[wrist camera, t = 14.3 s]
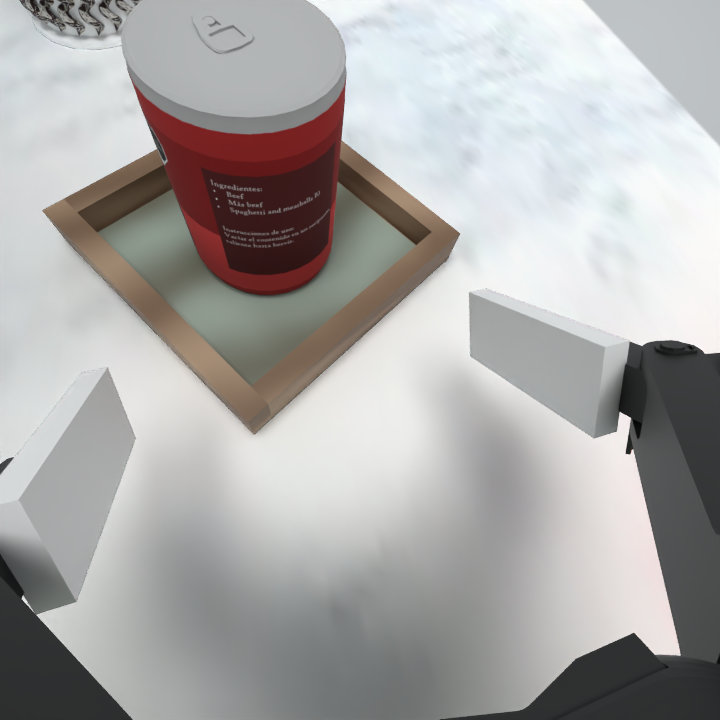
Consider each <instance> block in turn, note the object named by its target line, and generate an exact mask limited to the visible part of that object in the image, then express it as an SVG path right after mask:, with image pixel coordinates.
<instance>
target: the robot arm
mask: <svg viewBox="0 0 720 720" xmlns="http://www.w3.org/2000/svg"><path fill="white" fill-rule="evenodd" d="M469 312H470V356H471V357H472V358H474V359H475V360H477V361H478V362H480V363H481V364H483V365H484V366H486V367H487V368H489V369H490V370H492V371H493V372H495V373H496V374H498V375H499V376H501V377H502V378H504V379H505V380H507V381H508V382H510V383H511V384H513V385H514V386H516V387H517V388H519V389H520V390H522V391H523V392H525V393H526V394H528V395H529V396H531V397H532V398H534V399H535V400H537V401H538V402H540V403H541V404H543V405H545V406H546V407H548V408H549V409H551V410H552V411H554V412H555V413H557V414H558V415H560V416H561V417H563V418H564V419H566V420H567V421H569V422H570V423H572V424H573V425H575V426H576V427H578V428H579V429H581V430H582V431H584V432H585V433H587V434H588V435H590V436H591V437H593V438H597V437H600V436H603V435H607V434H610V433H613V432H616V431H617V426H618V419H619V412H621V413H623V414H625V415H627V416H629V417H631V423H630V429H629V435H628V442H627V448H626V454H630V453H631V450H632V449H634V454H635V458H636V462H637V467H638V471H639V475H640V479H641V484H642V488H643V492H644V497H645V501H646V505H647V510H648V514H649V518H650V522H651V527H652V531H653V535H654V540H655V544H656V548H657V553H658V557H659V561H660V566H661V570H662V574H663V578H664V583H665V587H666V591H667V596H668V600H669V604H670V609H671V613H672V617H673V621H674V626H675V630H676V634H677V639H678V643H679V648H680V654H681V656H677V655H654V654H653V653H652V652H651V651H650V649H649V648H648V647H647V646H646V645H645V644H644V643H643V642H642V641H641V640H640V639H639V638H638V637H637V635H636V634H635V633H633V634H630V635H628V636H626V637H624V638H622V639H619V640H617V641H615V642H613V643H610V644H608V645H606V646H604V647H601V648H599V649H597V650H595V651H592V652H590V653H588V654H586V655H583V656H581V657H579V658H577V659H575V660H574V661H573V662H572V663H571V664H570V665H569V666H568V667H567V668H566V669H565V670H564V671H563V672H562V673H561V674H560V675H559V676H558V677H557V678H556V679H555V680H554V681H553V682H552V683H551V684H550V685H549V686H548V687H547V688H546V689H545V690H544V691H543V692H542V693H541V694H540V695H539V696H538V697H537V698H536V699H535V700H534V701H533V702H532V703H531V704H530V705H529V706H528V707H527V708H525V709H523V710H520V711H515V712H505V713H496V714H486V715H477V716H467V717H458V718H448V719H440V720H720V353H713V354H704V352H703V351H702V350H700V349H699V348H698V347H696V346H694V345H690V344H686V343H682V342H679V341H672V340H670V341H654V342H649V343H646V344H645V345H643V346H640V345H637V344H635V343H632V342H630V341H629V340H627V339H624V338H621V337H618V336H616V335H613V334H610V333H607V332H605V331H602V330H599V329H596V328H594V327H591V326H588V325H585V324H583V323H580V322H577V321H574V320H572V319H569V318H566V317H563V316H561V315H558V314H555V313H552V312H550V311H547V310H544V309H541V308H539V307H536V306H533V305H530V304H528V303H525V302H522V301H519V300H517V299H514V298H511V297H508V296H506V295H503V294H500V293H497V292H495V291H492V290H489V289H482V290H477V291H472V292H469ZM135 439H136V437H135V435H134V432H133V430H132V427H131V425H130V422H129V420H128V417H127V415H126V412H125V410H124V407H123V405H122V402H121V400H120V397H119V395H118V392H117V390H116V387H115V385H114V382H113V380H112V377H111V375H110V372H109V370H108V367H107V368H102V369H97V370H93V371H88V372H83V373H81V374H80V376H79V377H78V378H77V379H76V381H75V382H74V383H73V384H72V386H71V387H70V388H69V389H68V391H67V392H66V393H65V394H64V396H63V397H62V398H61V399H60V401H59V402H58V403H57V404H56V406H55V407H54V408H53V410H52V411H51V412H50V413H49V415H48V416H47V417H46V418H45V420H44V421H43V422H42V423H41V425H40V426H39V427H38V428H37V430H36V431H35V432H34V433H33V435H32V436H31V437H30V438H29V440H28V441H27V442H26V443H25V445H24V446H23V447H22V448H21V450H20V451H19V452H18V453H17V455H16V456H15V457H13V458H8V459H7V460H5V461H4V462H2V463H1V464H0V720H133V719H132V718H131V717H130V716H129V715H128V714H127V713H126V712H125V711H124V710H123V709H122V708H121V707H120V705H119V704H118V703H117V702H116V701H115V700H114V699H113V698H112V697H111V696H110V695H109V694H108V692H107V691H106V690H105V689H104V688H103V687H102V686H101V685H100V684H99V683H98V682H97V681H96V679H95V678H94V677H93V676H92V675H91V674H90V673H89V672H88V671H87V670H86V669H85V668H84V666H83V665H82V664H81V663H80V662H79V661H78V660H77V659H76V658H75V657H74V656H73V655H72V653H71V652H70V651H69V650H68V649H67V648H66V647H65V646H64V645H63V644H62V643H61V642H60V640H59V639H58V638H57V637H56V636H55V635H54V634H53V633H52V632H51V631H50V630H49V629H48V627H47V626H46V625H45V624H44V623H43V622H42V621H41V620H40V619H39V618H38V617H37V616H36V615H35V614H39V613H42V612H45V611H48V610H52V609H55V608H58V607H61V606H64V605H67V604H71V603H74V602H77V599H78V596H79V593H80V591H81V588H82V585H83V582H84V580H85V577H86V574H87V571H88V569H89V566H90V563H91V560H92V558H93V555H94V552H95V549H96V547H97V544H98V541H99V538H100V536H101V533H102V530H103V527H104V525H105V522H106V519H107V516H108V514H109V511H110V508H111V505H112V503H113V500H114V497H115V494H116V492H117V489H118V486H119V483H120V481H121V478H122V475H123V472H124V470H125V467H126V464H127V461H128V459H129V456H130V453H131V450H132V448H133V445H134V442H135ZM23 595H24V597H25V598H26V600H27V601H28V603H29V605H30V606H31V608H32V609H33V611H34V612H35V613H34V612H33V611H32V610H31V609H30V608H29V607H28V606H27V605H26V604H25V603H24V602H23V600H22V599H21V598H22V596H23Z"/></svg>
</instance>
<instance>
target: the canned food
mask: <svg viewBox="0 0 720 720" xmlns="http://www.w3.org/2000/svg"><path fill="white" fill-rule="evenodd" d="M121 43H122V49H123V54H124V57H125V59H126V63H127V70H128V73H129V75H130V78H131V80H132V83H133V86H134V88H135V91H136V94H137V97H138V100H139V103H140V106H141V108H142V111H143V113H144V116H145V119H146V121H147V124H148V126H149V129H150V131H151V134H152V137H153V139H154V142H155V144H156V147H157V149H158V152H159V155H160V157H161V160H162V162H163V165H164V168H165V170H166V173H167V175H168V178H169V180H170V183H171V186H172V188H173V191H174V193H175V196H176V198H177V201H178V204H179V206H180V209H181V211H182V214H183V216H184V219H185V222H186V224H187V227H188V229H189V232H190V235H191V237H192V240H193V242H194V245H195V247H196V249H197V252H198V254H199V256H200V258H201V259H202V261H203V262H204V263H205V264H206V266H207V267H208V268H209V269H210V270H211V271H212V272H213V273H214V274H215V275H216V276H217V277H219V278H220V279H221V280H222V281H223V282H225V283H227V284H228V285H230V286H232V287H234V288H236V289H239V290H241V291H244V292H247V293H253V294H258V295H276V294H282V293H287V292H290V291H293V290H296V289H298V288H300V287H302V286H303V285H305V284H307V283H308V282H310V281H311V280H312V279H313V278H314V277H315V276H316V275H317V274H318V273H319V271H320V270H321V268H322V267H323V265H324V264H325V262H326V261H327V258H328V256H329V254H330V251H331V247H332V240H333V228H334V217H335V206H336V194H337V183H338V172H339V160H340V149H341V138H342V126H343V115H344V103H345V85H346V66H345V63H346V53H345V46H344V42H343V40H342V38H341V35H340V33H339V31H338V29H337V28H336V27H335V25H334V24H333V23H332V21H331V20H330V19H329V18H328V17H327V16H326V15H325V14H324V13H323V12H321V11H320V10H319V9H318V8H317V7H315V6H314V5H312V4H311V3H309V2H308V1H306V0H142V1H140V2H139V3H138V4H137V5H136V6H135V7H134V8H133V10H132V11H131V12H130V13H129V15H128V17H127V19H126V21H125V22H124V24H123V29H122V35H121Z"/></svg>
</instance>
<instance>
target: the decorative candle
mask: <svg viewBox="0 0 720 720" xmlns="http://www.w3.org/2000/svg"><path fill="white" fill-rule="evenodd" d="M140 1H142V0H20V2H21V3H22V5H23V6H24V7H25V8H26V9H28V10H29V12H30V15H31V17H32V20H33V22H34V25H35V27H36V29H37V31H39V32H40V33H41V34H43V35H44V36H45V37H47V38H48V39H49V40H51V41H52V42H55V43H58V44H61V45H64V46H68V47H71V48H77V49H94V50H99V49H104V48H110V47H116V46H121V45H122V43H121V35H122V29H123V24H124V22H125V21H126V19H127V17H128V15H129V13H130V12H131V11H132V10H133V8H134V7H135V6H136V5H137V4H138V3H139V2H140Z"/></svg>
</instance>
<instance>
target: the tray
mask: <svg viewBox="0 0 720 720" xmlns="http://www.w3.org/2000/svg"><path fill="white" fill-rule="evenodd" d="M42 211H43V212H44V213H45V214H46V216H47V217H48V218H49V219H50V221H51V222H52V223H53V225H54V226H55V227H56V228H57V230H58V231H59V232H60V233H61V235H62V236H63V237H64V238H65V240H66V241H67V242H68V243H69V244H70V245H71V246H72V247H73V248H74V249H75V250H76V251H77V252H78V253H79V254H80V255H81V256H82V257H83V258H84V259H85V260H86V261H87V262H88V264H89V265H90V266H91V267H92V268H93V269H94V270H95V271H96V272H97V273H98V274H99V275H100V276H101V277H102V278H103V279H104V280H105V281H106V282H107V283H108V284H109V285H110V286H111V287H112V288H113V289H114V290H115V291H116V292H117V293H118V295H119V296H120V297H121V298H122V299H123V300H124V301H125V302H126V303H127V304H128V305H129V306H130V307H131V308H132V309H133V310H134V311H135V312H136V313H137V314H138V315H139V316H140V317H141V318H142V319H143V320H144V321H145V322H146V323H147V324H148V326H149V327H150V328H151V329H152V330H153V331H154V332H155V333H156V334H157V335H158V336H159V337H160V338H161V339H162V340H163V341H164V342H165V343H166V344H167V345H168V346H169V347H170V348H171V349H172V350H173V351H174V352H175V353H176V354H177V355H178V357H179V358H180V359H181V360H182V361H183V362H184V363H185V364H186V365H187V366H188V367H189V368H190V369H191V370H192V371H193V372H194V373H195V374H196V375H197V376H198V377H199V378H200V379H201V380H202V381H203V382H204V383H205V384H206V385H207V386H208V388H209V389H210V390H211V391H212V392H213V393H214V394H215V395H216V396H217V397H218V398H219V399H220V400H221V401H222V402H223V403H224V404H225V405H226V406H227V407H228V408H229V409H230V410H231V411H232V412H233V413H234V414H235V415H236V416H237V417H238V419H239V420H240V421H241V422H242V423H243V424H244V425H245V426H246V427H247V428H248V429H249V430H250V431H251V432H252V433H253V434H255V433H256V432H257V431H258V430H260V429H261V428H262V427H263V426H264V425H265V424H266V423H267V422H268V421H270V420H271V419H272V418H273V417H274V416H275V415H276V414H277V413H278V412H279V411H281V410H282V409H283V408H284V407H285V406H286V405H287V404H288V403H289V402H290V401H292V400H293V399H294V398H295V397H296V396H297V395H298V394H299V393H300V392H301V391H303V390H304V389H305V388H306V387H307V386H308V385H309V384H310V383H311V382H312V381H314V380H315V379H316V378H317V377H318V376H319V375H320V374H321V373H322V372H323V371H325V370H326V369H327V368H328V367H329V366H330V365H331V364H332V363H333V362H334V361H336V360H337V359H338V358H339V357H340V356H341V355H342V354H343V353H344V352H346V351H347V350H348V349H349V348H350V347H351V346H352V345H353V344H354V343H355V342H357V341H358V340H359V339H360V338H361V337H362V336H363V335H364V334H365V333H366V332H368V331H369V330H370V329H371V328H372V327H373V326H374V325H375V324H376V323H377V322H379V321H380V320H381V319H382V318H383V317H384V316H385V315H386V314H387V313H388V312H390V311H391V310H392V309H393V308H394V307H395V306H396V305H397V304H398V303H399V302H401V301H402V300H403V299H404V298H405V297H406V296H407V295H408V294H409V293H410V292H412V291H413V290H414V289H415V288H416V287H417V286H418V285H419V284H420V283H421V282H423V281H424V280H425V279H426V278H427V277H428V276H429V275H430V274H431V273H433V272H434V271H435V270H436V269H437V268H438V267H439V266H440V265H441V264H442V263H444V262H445V261H446V260H447V259H448V257H449V255H450V253H451V251H452V249H453V247H454V245H455V243H456V241H457V239H458V237H459V235H460V233H459V232H458V231H456V230H455V229H454V228H453V227H451V226H450V225H449V224H447V223H446V222H445V221H444V220H442V219H441V218H440V217H438V216H437V215H436V214H435V213H433V212H432V211H431V210H430V209H428V208H427V207H426V206H424V205H423V204H422V203H421V202H419V201H418V200H417V199H416V198H414V197H413V196H412V195H410V194H409V193H408V192H407V191H405V190H404V189H403V188H402V187H400V186H399V185H398V184H396V183H395V182H394V181H393V180H391V179H390V178H389V177H387V176H386V175H385V174H384V173H382V172H381V171H380V170H379V169H377V168H376V167H375V166H373V165H372V164H371V163H370V162H368V161H367V160H366V159H365V158H363V157H362V156H361V155H359V154H358V153H357V152H356V151H354V150H353V149H352V148H350V147H349V146H348V145H347V144H345V143H344V142H343V141H342V140H341V149H340V160H339V172H338V183H337V194H336V206H335V217H334V228H333V240H332V247H331V251H330V254H329V256H328V258H327V261H326V262H325V264H324V265H323V267H322V268H321V270H320V271H319V273H318V274H317V275H316V276H315V277H314V278H313V279H312V280H311V281H310V282H308V283H307V284H305V285H303V286H302V287H300V288H298V289H296V290H293V291H290V292H287V293H282V294H276V295H258V294H253V293H247V292H244V291H241V290H239V289H236V288H234V287H232V286H230V285H228V284H227V283H225V282H223V281H222V280H221V279H220V278H219V277H217V276H216V275H215V274H214V273H213V272H212V271H211V270H210V269H209V268H208V267H207V266H206V264H205V263H204V262H203V261H202V259H201V258H200V256H199V254H198V252H197V249H196V247H195V245H194V242H193V240H192V237H191V235H190V232H189V229H188V227H187V224H186V222H185V219H184V216H183V214H182V211H181V209H180V206H179V204H178V201H177V198H176V196H175V193H174V191H173V188H172V186H171V183H170V180H169V178H168V175H167V173H166V170H165V168H164V165H163V162H162V160H161V157H160V155H159V152H158V149H157V150H155V151H153V152H151V153H149V154H147V155H145V156H143V157H142V158H140V159H138V160H136V161H134V162H132V163H130V164H128V165H127V166H125V167H123V168H121V169H119V170H117V171H115V172H113V173H111V174H110V175H108V176H106V177H104V178H102V179H100V180H98V181H96V182H95V183H93V184H91V185H89V186H87V187H85V188H83V189H81V190H80V191H78V192H76V193H74V194H72V195H70V196H68V197H66V198H65V199H63V200H61V201H59V202H57V203H55V204H53V205H51V206H50V207H48V208H46V209H44V210H42Z"/></svg>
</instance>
